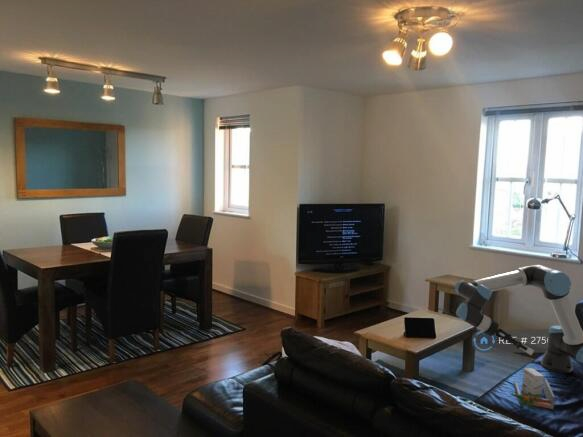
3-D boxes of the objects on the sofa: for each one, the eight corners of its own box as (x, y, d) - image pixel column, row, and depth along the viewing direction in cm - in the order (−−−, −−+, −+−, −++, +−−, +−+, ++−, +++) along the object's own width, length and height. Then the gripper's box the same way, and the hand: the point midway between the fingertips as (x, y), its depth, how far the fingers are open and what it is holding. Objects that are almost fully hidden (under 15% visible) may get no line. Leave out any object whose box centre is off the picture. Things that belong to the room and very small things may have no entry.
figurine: (537, 412, 213) (539, 395, 212) (507, 404, 218) (509, 388, 217) (537, 409, 216) (539, 392, 214) (508, 402, 221) (510, 385, 220)
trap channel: (545, 390, 235) (546, 379, 234) (553, 409, 217) (554, 396, 216) (514, 384, 239) (515, 373, 238) (519, 402, 221) (521, 390, 220)
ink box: (541, 399, 225) (544, 375, 224) (532, 399, 225) (535, 376, 223) (529, 390, 234) (532, 367, 232) (520, 390, 233) (523, 367, 231)
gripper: (476, 327, 244) (513, 350, 242) (490, 337, 219) (532, 362, 217) (484, 314, 244) (521, 337, 241) (499, 323, 219) (541, 348, 217)
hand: (527, 349), depth 229 cm, fingers open, 13 cm apart
